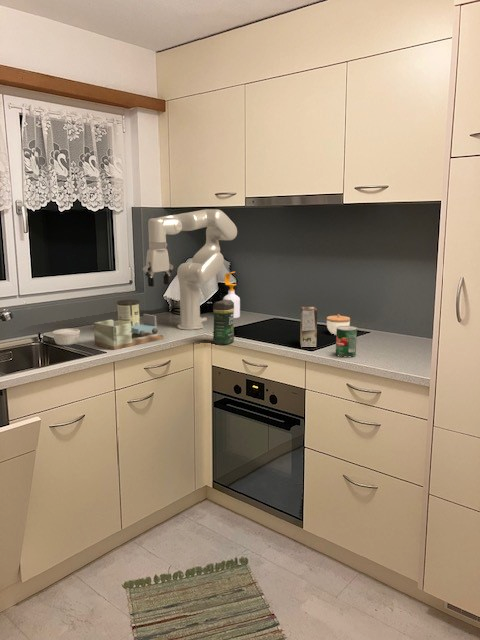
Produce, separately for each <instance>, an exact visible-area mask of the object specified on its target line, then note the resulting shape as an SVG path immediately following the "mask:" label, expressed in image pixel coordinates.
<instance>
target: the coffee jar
mask: <svg viewBox="0 0 480 640" xmlns="http://www.w3.org/2000/svg"><path fill="white" fill-rule="evenodd" d="M212 306H213V309H212V310H213V334H212V337H213V338H212V339H213V340H212V342H213V343H214V344H216V345H229V344H231V343H233V342H234V341H235V328H234V318H233V315H234V302H233V301H232V300H223V299H222V300H219V301H215V302H214V303H213V305H212Z"/></svg>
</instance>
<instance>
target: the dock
mask: <svg viewBox="0 0 480 640" xmlns="http://www.w3.org/2000/svg"><path fill="white" fill-rule="evenodd" d="M114 324H115V323H114V319H107V320H106V319H105V320H102V321H97V322H96V321H95V322H93V334H94V335H93V336H94V345H95V346H99V347H103V348H106V349H109V350H113V351H117V350H121V349H123V348H128V347H133V346H137V345H142V344H147V343H152V342H155V341H160V340H164V336H163V335H161V333H160V332H157V333H156V334H154V333H152V332H146V333H145V335H144V336H140V335H139V334H137V333H132V332H131V324H123V325H114Z"/></svg>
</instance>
